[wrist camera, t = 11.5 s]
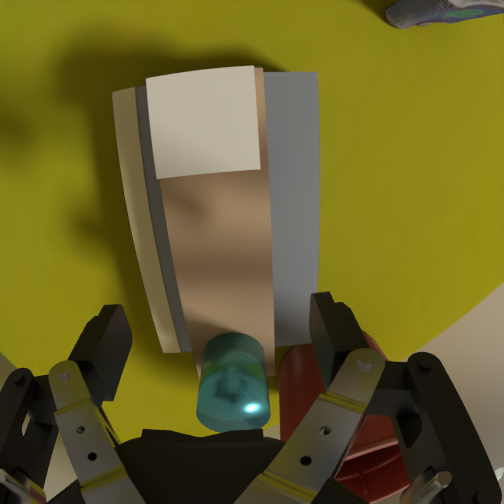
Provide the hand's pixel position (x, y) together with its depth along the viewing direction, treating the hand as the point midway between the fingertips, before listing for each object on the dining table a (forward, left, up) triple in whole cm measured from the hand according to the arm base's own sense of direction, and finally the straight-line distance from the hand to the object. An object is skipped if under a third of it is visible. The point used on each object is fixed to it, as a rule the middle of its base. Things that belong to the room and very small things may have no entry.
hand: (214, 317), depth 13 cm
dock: (0, 0, -14) cm, 14 cm away
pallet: (0, 0, -9) cm, 9 cm away
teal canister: (+7, 0, -5) cm, 9 cm away
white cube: (-8, 0, -5) cm, 9 cm away
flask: (-18, +19, -15) cm, 30 cm away
